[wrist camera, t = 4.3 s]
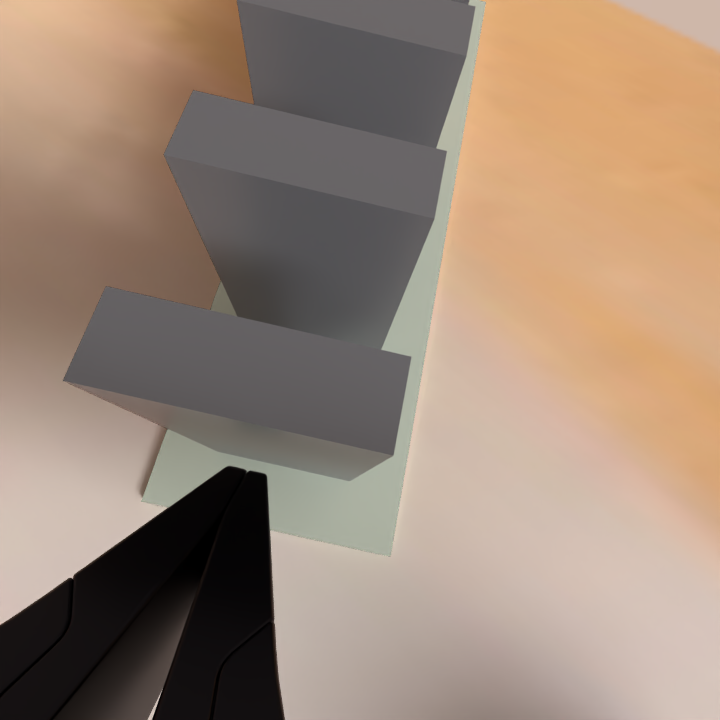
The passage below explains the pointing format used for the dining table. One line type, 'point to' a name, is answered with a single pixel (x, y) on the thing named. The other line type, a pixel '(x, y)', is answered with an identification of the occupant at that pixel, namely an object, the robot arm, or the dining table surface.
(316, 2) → the domino
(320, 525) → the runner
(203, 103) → the domino
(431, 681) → the dining table surface
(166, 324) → the domino
